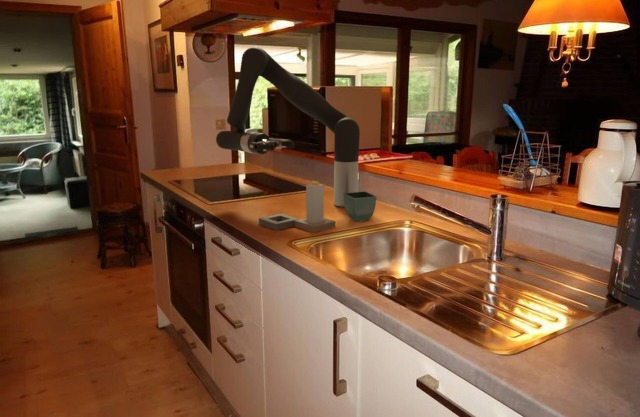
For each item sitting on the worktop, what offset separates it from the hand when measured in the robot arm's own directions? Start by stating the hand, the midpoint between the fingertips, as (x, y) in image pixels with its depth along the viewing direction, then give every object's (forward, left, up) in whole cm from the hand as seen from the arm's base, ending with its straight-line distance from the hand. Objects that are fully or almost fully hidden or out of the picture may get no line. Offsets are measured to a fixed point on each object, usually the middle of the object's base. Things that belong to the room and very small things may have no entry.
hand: (283, 146), depth 164 cm
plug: (0, +16, -25) cm, 29 cm away
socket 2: (0, +16, -25) cm, 29 cm away
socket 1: (+7, +6, -25) cm, 27 cm away
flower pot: (-17, +20, -25) cm, 36 cm away
